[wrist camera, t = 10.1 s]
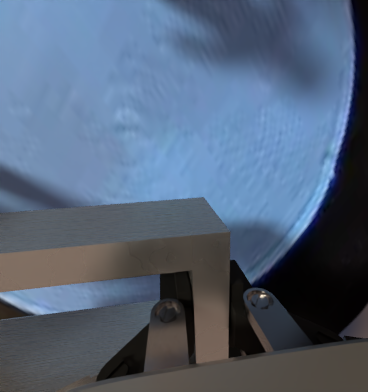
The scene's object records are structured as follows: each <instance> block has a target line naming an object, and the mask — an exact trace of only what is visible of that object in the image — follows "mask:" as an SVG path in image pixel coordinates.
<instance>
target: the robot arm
mask: <svg viewBox="0 0 368 392" xmlns="http://www.w3.org/2000/svg"><path fill="white" fill-rule="evenodd" d="M194 344H195V340H194V317H193V294H192V287H191V282H190V277H189V273H188V271H182V272H173V273H165V274H160V301H159V302H157V303H156V304H155V305H154V306H153V308H152V310H151V315H150V322H149V323H148V324H147V325H146V326H145V327H144V328H143V329H142V330H141V331H140V332H139V333H138V334H137V335H136V336H135V337H134V338H132V339H131V340H130V341H129V342H128V343H127V344H126V345H125V346H124V347H123V348H122V349H121V350H120V351H119V352H118V353H117V354H115V355H114V356H113V357H112V358H111V359H110V360H109V361H108V362H107V363H106V364H105V365H104V366H103V368H102V369H101V370H100V372H99V374H98V375H96V376H94V377H92V378H90V375H88V376H86V377H84V378H82V379H80V380H78V381H76V382H74V383H71V384H69V385H67V386H65V387H63V388H61V389H59V390H57V391H55V392H368V338H356V337H350V336H344V337H343V339H342V338H341V337H340V336H338V335H337V334H336V333H334V332H332V331H330V330H328V329H326V328H324V327H322V326H319V325H317V324H315V323H313V322H310V321H308V320H306V319H303V318H301V317H299V316H297V315H294V314H292V313H290V312H288V311H286V310H285V309H284V307H283V306H282V305H281V304H280V302H279V301H278V300H277V299H276V297H275V296H274V295H273V294H272V293H270V292H268V291H267V290H264V289H261V288H252V286H251V284H250V283H249V281H248V280H247V278H246V276H245V275H244V273H243V272H242V270H241V269H240V267H239V265H238V264H237V262H236V261H235V260H230V279H229V340H228V344H229V347H238V348H239V349H241V354H242V356H241V357H234V358H228V359H222V360H215V361H209V362H203V363H197V364H191V365H189V359H190V357H191V356H192V354H193V353H194Z"/></svg>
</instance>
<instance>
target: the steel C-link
mask: <svg viewBox="0 0 368 392" xmlns="http://www.w3.org/2000/svg"><path fill="white" fill-rule="evenodd" d="M182 271H188V273H189V277H190V282H191V287H192V294H193V317H194V340H195V344H194V353H193V354H192V356H191V357H190V359H189V365H191V364H197V363H203V362H209V361H215V360H222V359H228V340H229V279H230V231H229V229H228V228H227V227H226V225H225V224H224V223H223V222H222V220H221V219H220V218H219V216H218V215H217V214H216V213H215V211H214V210H213V209H212V207H211V206H210V205H209V203H208V202H207V201H206V200H205V198H204V197H200V198H187V199H174V200H162V201H149V202H136V203H123V204H110V205H97V206H85V207H72V208H59V209H46V210H33V211H20V212H8V213H0V292H6V291H15V290H24V289H33V288H41V287H50V286H59V285H68V284H77V283H85V282H94V281H103V280H112V279H121V278H129V277H138V276H147V275H156V274H165V273H173V272H182ZM159 301H160V300H155V301H147V302H139V303H131V304H123V305H115V306H107V307H99V308H92V309H84V310H76V311H68V312H60V313H52V314H44V315H36V316H28V317H20V318H12V319H4V320H0V392H55V391H57V390H59V389H61V388H63V387H65V386H67V385H69V384H71V383H74V382H76V381H78V380H80V379H82V378H84V377H86V376H88V375H90V378H92V377H94V376H96V375H98V374H99V372H100V370H101V369H102V368H103V366H104V365H105V364H106V363H107V362H108V361H109V360H110V359H111V358H112V357H113V356H114V355H115V354H117V353H118V352H119V351H120V350H121V349H122V348H123V347H124V346H125V345H126V344H127V343H128V342H129V341H130V340H131V339H132V338H134V337H135V336H136V335H137V334H138V333H139V332H140V331H141V330H142V329H143V328H144V327H145V326H146V325H147V324H148V323H149V322H150V315H151V310H152V308H153V306H154V305H155V304H156V303H157V302H159Z"/></svg>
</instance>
